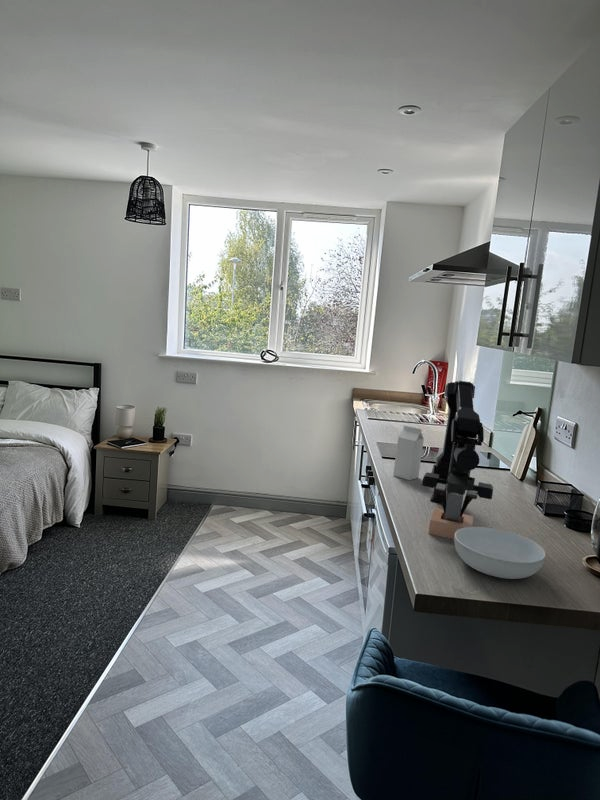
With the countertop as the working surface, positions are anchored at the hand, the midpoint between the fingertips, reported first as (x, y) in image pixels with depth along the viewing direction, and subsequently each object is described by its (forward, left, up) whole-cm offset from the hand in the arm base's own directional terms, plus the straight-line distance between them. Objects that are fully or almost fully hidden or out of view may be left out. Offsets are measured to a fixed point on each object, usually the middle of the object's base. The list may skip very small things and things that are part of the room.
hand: (452, 514), depth 154 cm
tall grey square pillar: (0, 0, -4) cm, 4 cm away
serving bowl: (+19, +12, -5) cm, 23 cm away
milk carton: (-48, -20, -5) cm, 52 cm away
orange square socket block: (0, 0, -5) cm, 5 cm away
